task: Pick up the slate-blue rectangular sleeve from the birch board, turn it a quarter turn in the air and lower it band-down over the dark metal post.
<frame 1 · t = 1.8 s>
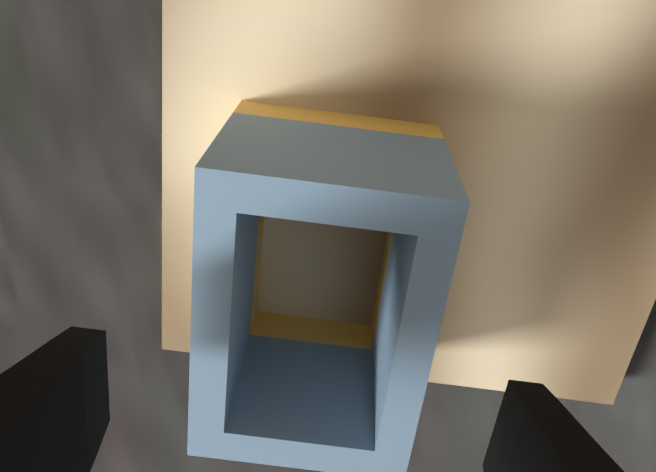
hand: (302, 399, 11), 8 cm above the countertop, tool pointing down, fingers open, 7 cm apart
sleeve: (324, 236, 17), point 1 cm above the countertop, touching board
board: (448, 36, 16), on the countertop
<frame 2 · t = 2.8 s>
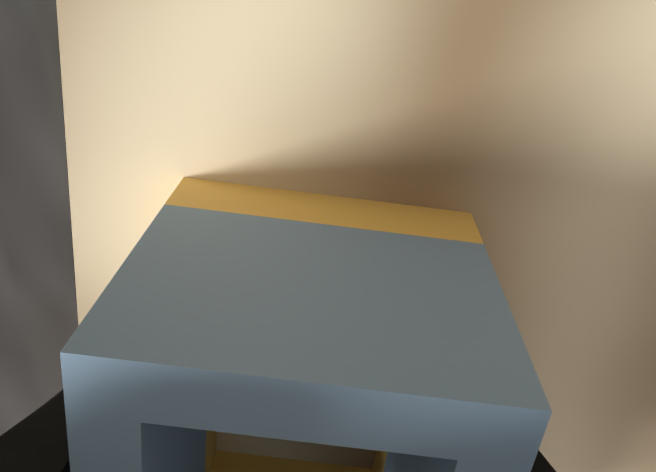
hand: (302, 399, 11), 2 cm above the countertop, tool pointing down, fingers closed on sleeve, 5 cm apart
sleeve: (307, 358, 12), point 1 cm above the countertop, touching board, gripper
board: (484, 82, 11), on the countertop
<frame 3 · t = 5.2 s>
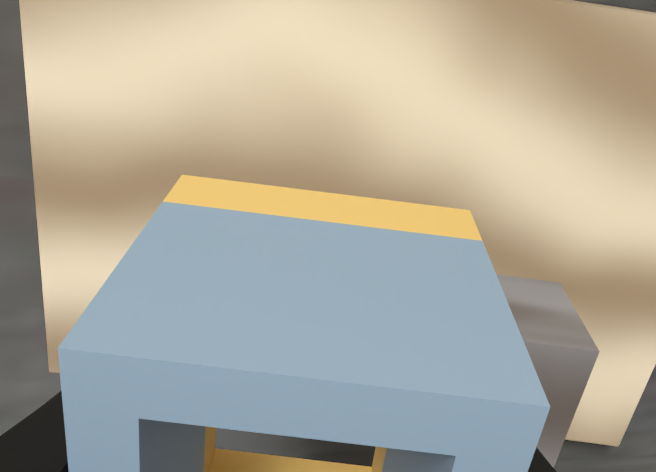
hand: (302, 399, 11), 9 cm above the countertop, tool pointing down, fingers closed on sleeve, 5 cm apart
sleeve: (306, 356, 12), point 8 cm above the countertop, touching gripper
board: (367, 213, 20), on the countertop
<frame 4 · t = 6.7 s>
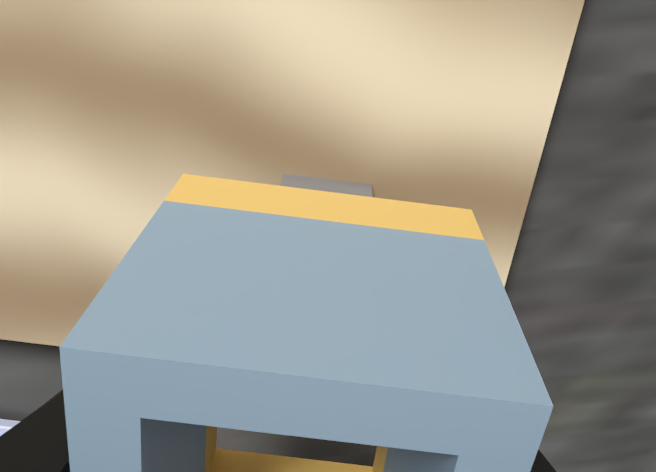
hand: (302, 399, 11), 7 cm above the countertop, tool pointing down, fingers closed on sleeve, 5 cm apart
sleeve: (307, 356, 12), point 6 cm above the countertop, touching gripper
board: (140, 105, 16), on the countertop
when the fingers open (4 cm above the countertop, at t = 7.9 s): sleeve drops 1 cm, resting on board.
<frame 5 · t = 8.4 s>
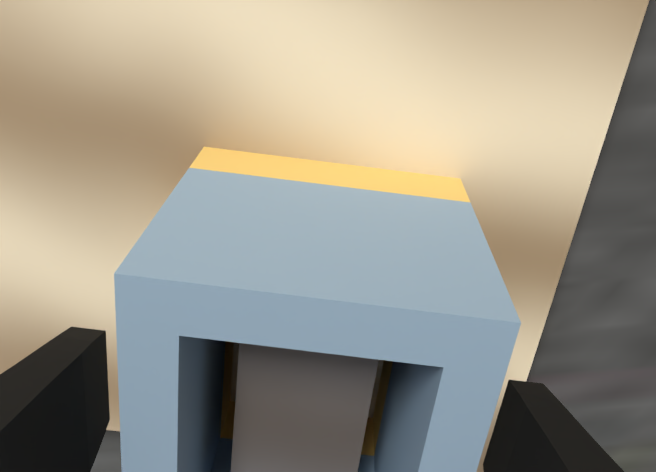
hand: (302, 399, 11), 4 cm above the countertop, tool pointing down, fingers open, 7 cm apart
sleeve: (313, 314, 14), point 1 cm above the countertop, touching board
board: (98, 139, 13), on the countertop
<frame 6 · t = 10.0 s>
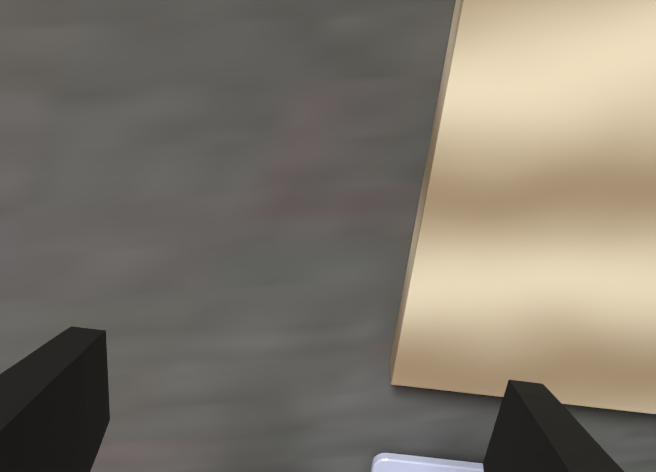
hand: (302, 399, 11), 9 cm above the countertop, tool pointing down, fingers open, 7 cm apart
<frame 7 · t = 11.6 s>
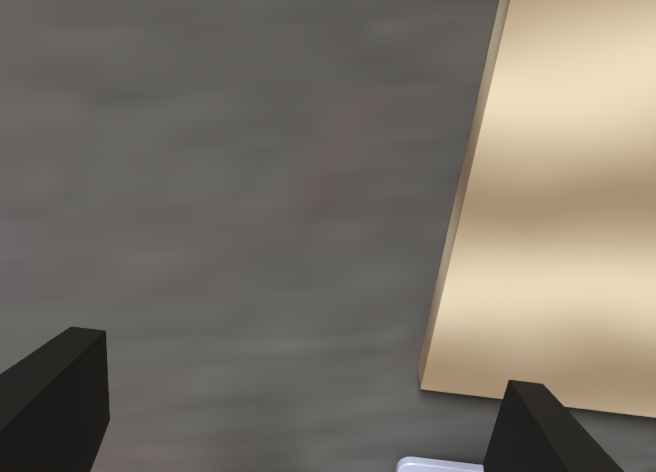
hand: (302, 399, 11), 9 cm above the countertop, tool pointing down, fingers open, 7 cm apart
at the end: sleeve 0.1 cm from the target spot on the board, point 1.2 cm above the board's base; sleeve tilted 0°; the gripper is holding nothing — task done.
